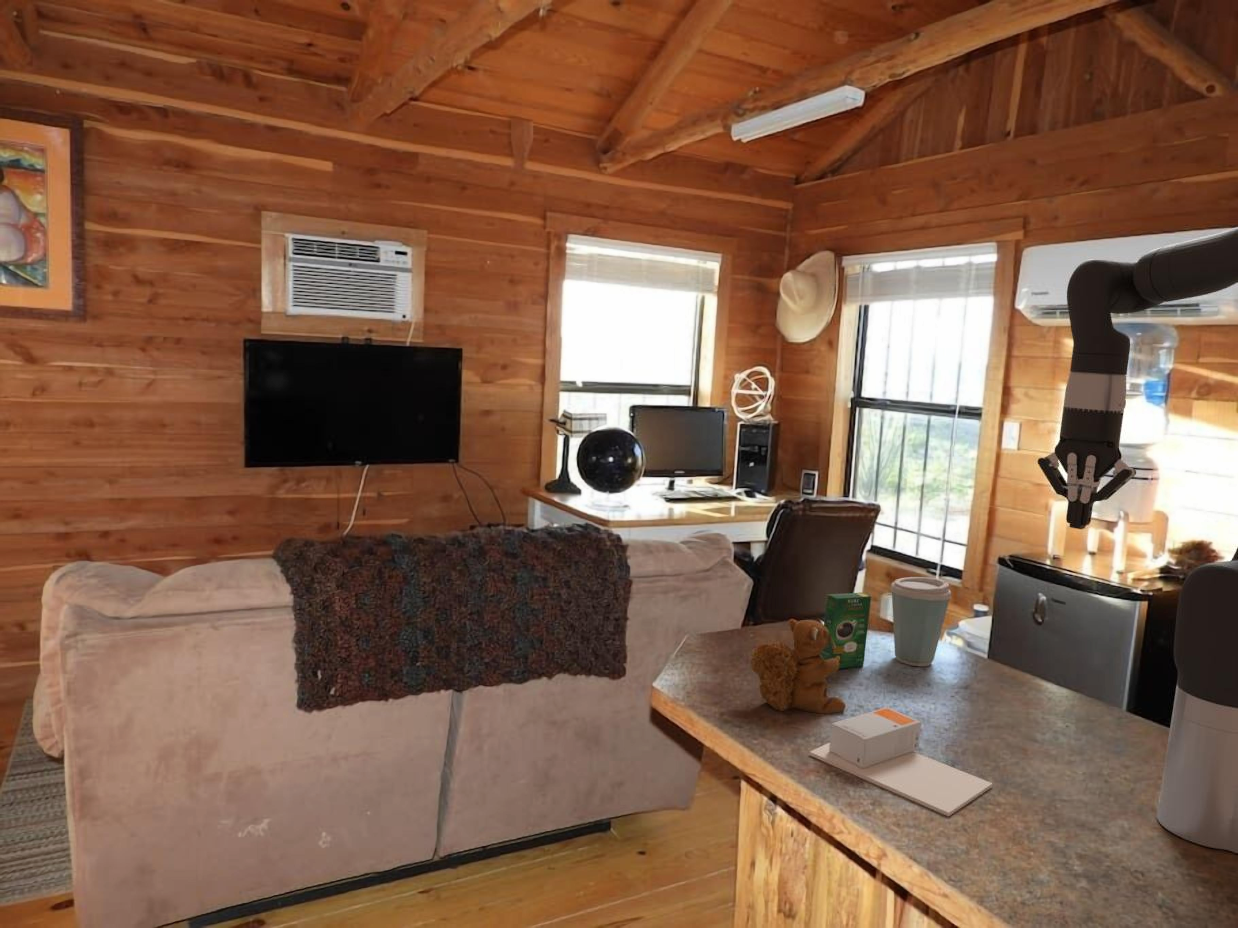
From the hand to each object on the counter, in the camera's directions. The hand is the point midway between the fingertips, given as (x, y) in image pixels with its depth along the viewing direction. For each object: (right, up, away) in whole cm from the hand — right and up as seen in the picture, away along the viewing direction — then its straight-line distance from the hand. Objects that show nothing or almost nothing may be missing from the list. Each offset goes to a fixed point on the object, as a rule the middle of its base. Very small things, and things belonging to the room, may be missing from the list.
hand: (1077, 527), depth 128 cm
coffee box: (-26, -27, +31) cm, 48 cm away
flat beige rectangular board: (-28, -32, -8) cm, 43 cm away
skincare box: (-25, -28, 0) cm, 38 cm away
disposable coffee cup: (-12, -27, +36) cm, 46 cm away
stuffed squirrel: (-38, -29, +13) cm, 49 cm away
